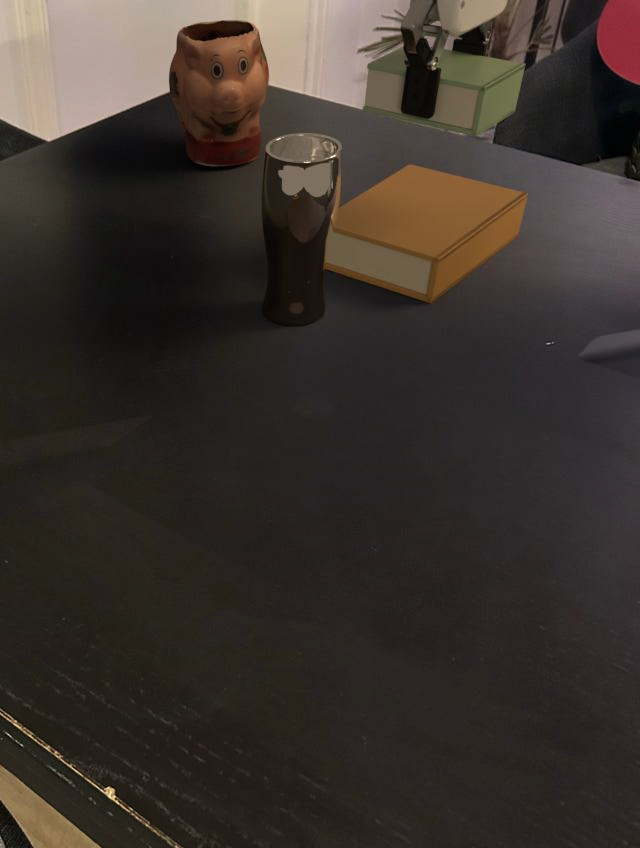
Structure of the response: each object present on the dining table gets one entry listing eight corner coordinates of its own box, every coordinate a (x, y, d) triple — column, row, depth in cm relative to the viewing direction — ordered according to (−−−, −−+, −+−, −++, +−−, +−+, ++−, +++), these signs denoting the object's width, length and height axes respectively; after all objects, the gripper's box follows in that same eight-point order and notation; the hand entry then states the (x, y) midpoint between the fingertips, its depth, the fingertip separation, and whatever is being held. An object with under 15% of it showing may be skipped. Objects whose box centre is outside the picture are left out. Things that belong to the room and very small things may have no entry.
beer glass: (244, 305, 90) (248, 142, 79) (303, 287, 92) (315, 126, 81) (282, 335, 86) (291, 168, 75) (343, 316, 88) (361, 150, 77)
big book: (517, 236, 97) (528, 193, 94) (431, 303, 88) (439, 258, 85) (403, 205, 104) (409, 163, 100) (312, 265, 95) (315, 221, 92)
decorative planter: (155, 131, 123) (149, 9, 113) (241, 119, 125) (243, -2, 114) (192, 187, 110) (189, 55, 100) (288, 173, 111) (295, 42, 101)
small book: (515, 112, 85) (525, 63, 82) (475, 136, 82) (485, 86, 79) (403, 88, 91) (409, 42, 88) (362, 111, 87) (367, 63, 84)
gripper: (468, -120, 67) (427, 139, 80) (573, -157, 75) (520, 83, 88) (380, -127, 70) (354, 122, 83) (489, -161, 78) (450, 70, 92)
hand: (440, 100), depth 86 cm, fingers closed on small book, 7 cm apart
